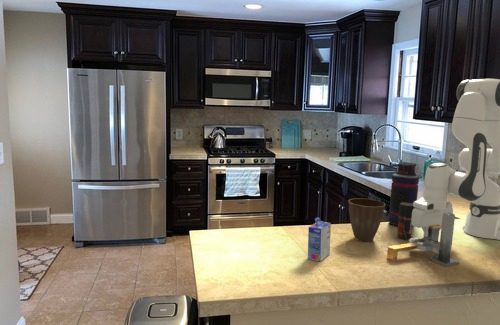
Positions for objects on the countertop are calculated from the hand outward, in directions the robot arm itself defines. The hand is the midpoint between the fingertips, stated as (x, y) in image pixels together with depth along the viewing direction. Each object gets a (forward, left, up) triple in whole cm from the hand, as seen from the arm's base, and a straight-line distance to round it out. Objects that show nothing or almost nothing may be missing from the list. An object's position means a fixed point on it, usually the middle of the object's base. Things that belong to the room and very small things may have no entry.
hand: (431, 235), depth 169 cm
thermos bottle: (-12, -27, -4) cm, 30 cm away
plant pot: (+21, -16, -4) cm, 27 cm away
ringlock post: (+16, +9, -4) cm, 19 cm away
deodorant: (+3, -11, -4) cm, 12 cm away
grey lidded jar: (0, 0, -4) cm, 4 cm away
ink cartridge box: (+51, -6, -4) cm, 52 cm away
